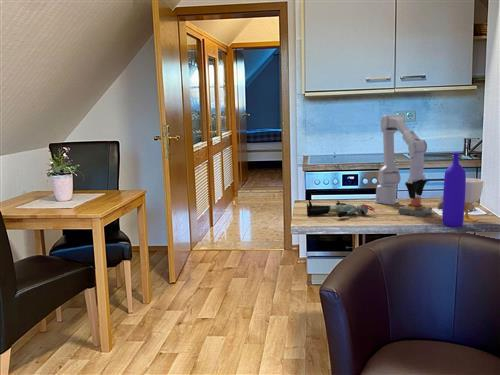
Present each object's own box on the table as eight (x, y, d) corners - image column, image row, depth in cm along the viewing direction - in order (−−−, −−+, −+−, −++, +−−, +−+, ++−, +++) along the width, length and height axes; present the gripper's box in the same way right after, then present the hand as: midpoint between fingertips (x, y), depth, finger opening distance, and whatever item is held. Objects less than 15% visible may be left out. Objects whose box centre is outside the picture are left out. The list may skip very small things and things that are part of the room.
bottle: (456, 228, 206) (459, 154, 201) (437, 224, 212) (440, 152, 207) (467, 225, 211) (471, 152, 205) (449, 221, 217) (452, 151, 212)
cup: (455, 222, 216) (457, 182, 213) (448, 215, 228) (450, 177, 225) (484, 222, 215) (487, 182, 212) (476, 216, 226) (478, 177, 223)
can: (408, 208, 233) (409, 195, 232) (413, 206, 236) (413, 193, 235) (417, 209, 230) (418, 196, 229) (422, 207, 233) (422, 194, 232)
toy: (310, 195, 250) (373, 193, 243) (311, 210, 251) (374, 209, 245) (304, 206, 226) (374, 204, 219) (305, 223, 227) (375, 221, 220)
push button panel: (398, 213, 234) (398, 205, 233) (406, 209, 241) (406, 202, 240) (424, 216, 226) (424, 208, 226) (431, 213, 233) (432, 205, 233)
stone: (474, 221, 241) (472, 203, 246) (478, 209, 233) (476, 191, 238) (436, 219, 245) (435, 202, 250) (439, 208, 237) (437, 190, 242)
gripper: (419, 169, 222) (417, 200, 224) (431, 165, 233) (430, 195, 235) (403, 168, 226) (402, 198, 229) (416, 164, 237) (415, 193, 240)
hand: (415, 196), depth 232 cm, fingers open, 7 cm apart
